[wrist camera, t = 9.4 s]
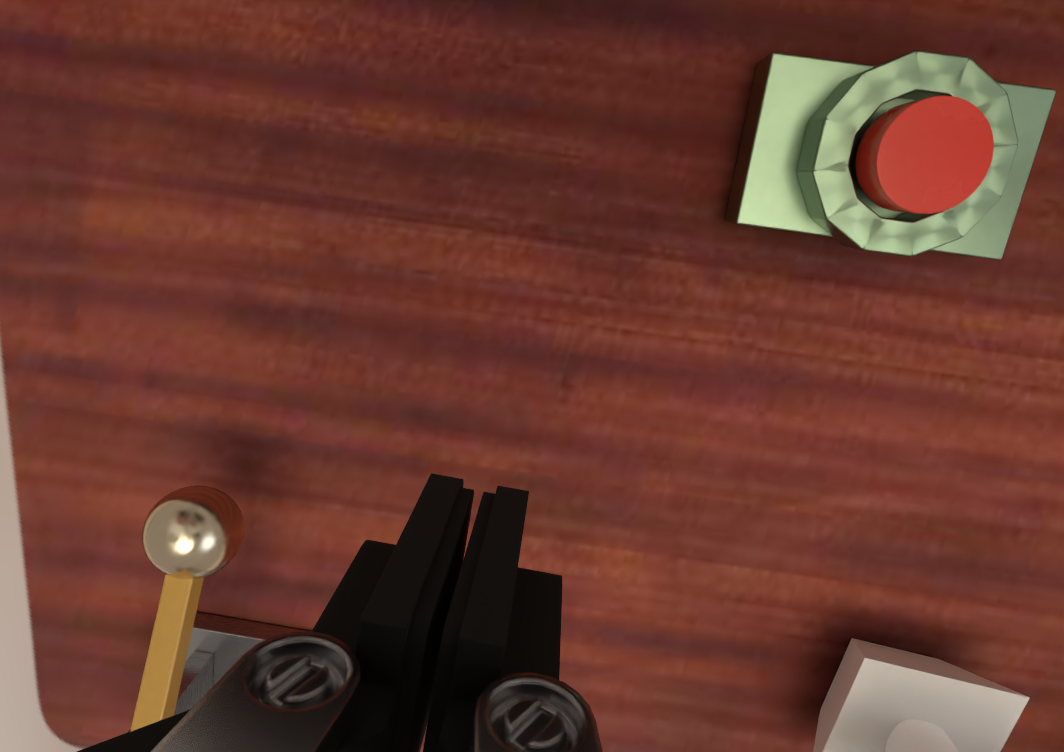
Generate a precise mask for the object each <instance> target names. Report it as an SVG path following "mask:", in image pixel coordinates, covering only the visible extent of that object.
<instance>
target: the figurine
mask: <svg viewBox="0 0 1064 752" xmlns="http://www.w3.org/2000/svg"><path fill="white" fill-rule="evenodd" d="M1029 698H1030V697H1027V696H1025V695H1023V694H1020V693H1018V692H1015V691H1013V690H1011V689H1008V688H1006V687H1004V686H1001V685H999V684H997V683H994V682H992V681H989V680H987V679H985V678H982V677H980V676H978V675H975V674H973V673H971V672H968V671H966V670H963V669H961V668H959V667H956V666H954V665H952V664H949V663H947V662H945V661H942V660H940V659H937V658H932V657H928V656H924V655H920V654H916V653H912V652H908V651H903V650H899V649H895V648H891V647H887V646H883V645H879V644H874V643H870V642H866V641H862V640H858V639H854V638H851V641H850V643H849V645H848V647H847V650H846V652H845V654H844V657H843V659H842V661H841V663H840V666H839V668H838V670H837V673H836V675H835V677H834V679H833V682H832V684H831V686H830V688H829V691H828V693H827V695H826V698H825V700H824V702H823V704H822V707H821V709H820V714H819V720H818V725H817V731H816V737H815V742H814V748H813V752H1000V751H1001V750H1002V748H1003V746H1004V744H1005V742H1006V740H1007V739H1008V737H1009V735H1010V733H1011V731H1012V729H1013V728H1014V726H1015V724H1016V722H1017V720H1018V718H1019V717H1020V715H1021V713H1022V711H1023V709H1024V707H1025V706H1026V704H1027V702H1028V700H1029Z"/></svg>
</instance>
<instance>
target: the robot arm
mask: <svg viewBox="0 0 1064 752" xmlns="http://www.w3.org/2000/svg"><path fill="white" fill-rule="evenodd" d="M528 494H529V491H524V490H519V489H513V488H508V487H502V486H498V487H497V490H496V494H493V493H488V492H483V496H482V499H481V502H480V506H479V509H478V513H477V516H476V519H475V523H474V526H473V530H472V533H471V536H470V540H469V543H468V547H467V550H466V553H465V557H464V552H465V546H466V540H467V534H468V527H469V521H470V515H471V509H472V502H473V496H474V490H472V489H466V488H463V479H459V478H453V477H448V476H442V475H437V474H431V475H430V477H429V479H428V481H427V483H426V485H425V487H424V489H423V491H422V493H421V495H420V497H419V500H418V502H417V504H416V506H415V508H414V510H413V512H412V514H411V516H410V518H409V520H408V522H407V524H406V526H405V528H404V530H403V532H402V534H401V536H400V538H399V540H398V542H397V544H396V545H393V544H388V543H382V542H377V541H371V540H366V541H365V542H364V543H363V545H362V546H361V548H360V550H359V551H358V553H357V555H356V557H355V558H354V560H353V562H352V563H351V565H350V567H349V569H348V570H347V572H346V574H345V575H344V577H343V579H342V581H341V582H340V584H339V586H338V587H337V589H336V591H335V593H334V594H333V596H332V598H331V599H330V601H329V603H328V605H327V606H326V608H325V610H324V611H323V613H322V615H321V617H320V618H319V620H318V622H317V623H316V625H315V627H314V629H313V630H312V632H311V631H309V632H290V633H286V634H281V635H277V636H273V637H271V638H269V639H267V640H265V641H262V642H260V643H258V644H256V645H255V646H254V647H252V648H251V649H250V650H249V651H247V652H246V653H245V654H244V655H243V656H242V657H241V658H240V659H239V660H238V661H237V662H236V663H235V664H234V665H233V666H232V667H231V668H230V669H229V670H228V671H227V672H226V673H225V674H224V675H223V676H222V678H221V679H220V680H219V681H218V682H217V683H216V684H215V685H214V686H213V687H212V688H211V689H210V690H209V691H208V692H207V693H206V694H205V695H204V696H203V697H202V698H201V699H200V701H199V702H198V703H197V704H196V705H195V706H194V707H193V708H192V709H190V710H187V711H185V712H182V713H179V714H177V715H174V716H171V717H168V718H166V719H163V720H160V721H158V722H155V723H152V724H150V725H147V726H144V727H142V728H139V729H136V730H134V731H131V732H128V733H126V734H123V735H120V736H118V737H115V738H112V739H110V740H107V741H104V742H101V743H99V744H96V745H93V746H91V747H88V748H85V749H83V750H80V751H77V752H420V748H421V745H422V741H423V737H424V734H425V730H426V726H427V730H426V736H425V743H424V749H423V752H602V747H601V743H600V738H599V734H598V729H597V725H596V721H595V718H594V716H593V713H592V711H591V708H590V706H589V705H588V704H587V702H586V701H585V700H584V699H583V698H582V696H581V695H580V694H579V693H578V692H577V691H575V690H574V689H573V688H571V687H570V686H568V685H567V684H566V683H564V682H562V681H559V666H560V636H561V606H562V576H561V575H556V574H550V573H545V572H539V571H534V570H529V569H523V568H518V561H519V554H520V548H521V541H522V534H523V528H524V521H525V514H526V508H527V501H528ZM463 559H464V560H463ZM427 723H428V724H427Z"/></svg>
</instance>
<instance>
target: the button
mask: <svg viewBox="0 0 1064 752" xmlns="http://www.w3.org/2000/svg"><path fill="white" fill-rule="evenodd" d="M993 151H994V139H993V133H992V130H991V127H990V124H989V122H988V120H987V118H986V117H985V115H984V114H983V113H982V112H981V111H980V110H979V109H978V108H977V107H976V106H975V105H973V104H972V103H970V102H968V101H967V100H964V99H962V98H959V97H954V96H945V95H943V96H934V97H929V98H924V99H920V100H916V101H912V102H908V103H904V104H901V105H898V106H895V107H893V108H891V109H889V110H888V111H886V112H884V113H883V114H882V115H880V116H879V117H878V118H877V119H876V120H875V121H874V122H873V123H872V124H871V125H870V126H869V128H868V129H867V130H866V132H865V134H864V135H863V137H862V139H861V141H860V144H859V147H858V150H857V154H856V163H855V167H856V175H857V179H858V182H859V185H860V187H861V189H862V191H863V192H864V194H865V195H866V196H867V197H868V198H869V199H870V200H871V201H872V202H873V203H875V204H876V205H878V206H880V207H882V208H884V209H887V210H891V211H896V212H907V213H919V214H933V213H938V212H942V211H945V210H948V209H950V208H953V207H955V206H956V205H958V204H960V203H962V202H963V201H964V200H966V199H967V198H968V197H969V196H970V195H971V194H972V193H973V192H975V190H976V189H977V188H978V187H979V186H980V184H981V183H982V181H983V180H984V178H985V176H986V174H987V172H988V170H989V168H990V165H991V162H992V158H993Z"/></svg>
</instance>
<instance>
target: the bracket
mask: <svg viewBox="0 0 1064 752" xmlns="http://www.w3.org/2000/svg"><path fill="white" fill-rule="evenodd" d="M290 632H309V631H306V630H300V629H294V628H288V627H283V626H277V625H271V624H265V623H259V622H253V621H247V620H241V619H235V618H229V617H223V616H217V615H211V614H205V613H199V612H196V615H195V620H194V625H193V629H192V634H191V638H190V643H189V648H188V652H187V657H186V661H185V666H184V671H183V675H182V680H181V684H180V689H179V694H178V698H177V703H176V707H175V712H174V715H177V714H179V713H182V712H185V711H187V710H190V709H192V708H193V707H194V706H195V705H196V704H197V703H198V702H199V701H200V699H201V698H202V697H203V696H204V695H205V694H206V693H207V692H208V691H209V690H210V689H211V688H212V687H213V686H214V685H215V684H216V683H217V682H218V681H219V680H220V679H221V678H222V676H223V675H224V674H225V673H226V672H227V671H228V670H229V669H230V668H231V667H232V666H233V665H234V664H235V663H236V662H237V661H238V660H239V659H240V658H241V657H242V656H243V655H244V654H245V653H246V652H247V651H249V650H250V649H251V648H252V647H254V646H255V645H256V644H258V643H260V642H262V641H265V640H267V639H269V638H271V637H273V636H277V635H281V634H286V633H290ZM311 632H312V631H311ZM130 731H131V729H130V730H129V732H130Z"/></svg>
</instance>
